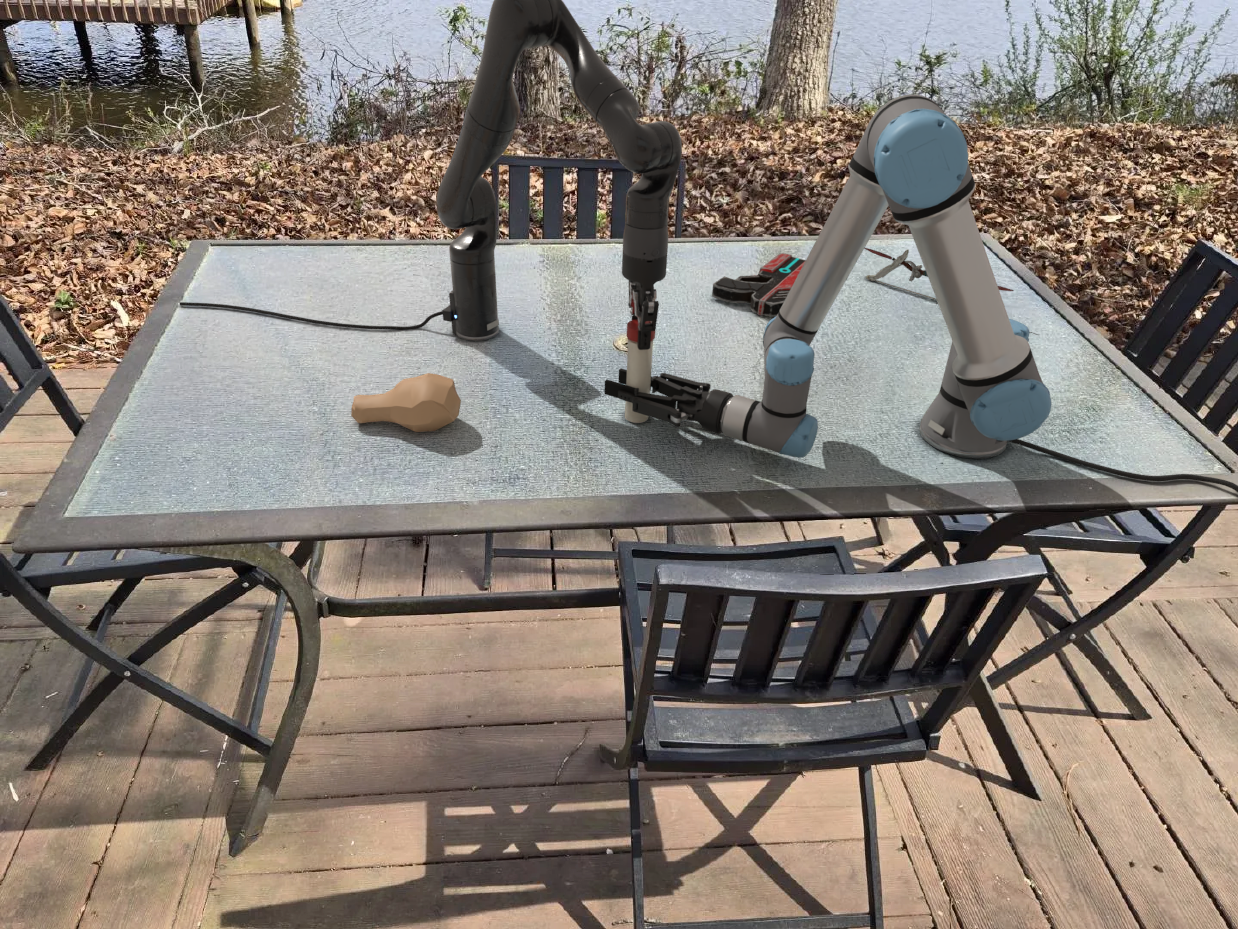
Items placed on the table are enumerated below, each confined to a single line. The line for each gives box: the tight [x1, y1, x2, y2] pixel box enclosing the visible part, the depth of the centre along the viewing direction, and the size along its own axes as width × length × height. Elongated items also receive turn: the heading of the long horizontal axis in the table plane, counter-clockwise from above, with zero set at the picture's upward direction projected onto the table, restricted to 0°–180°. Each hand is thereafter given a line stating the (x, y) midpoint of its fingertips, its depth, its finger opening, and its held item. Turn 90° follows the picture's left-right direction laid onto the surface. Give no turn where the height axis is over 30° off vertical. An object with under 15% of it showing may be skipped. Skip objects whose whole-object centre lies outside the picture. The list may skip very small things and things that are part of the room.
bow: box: [864, 247, 1015, 301], centre depth 212 cm, size 39×2×10 cm, turn 47°
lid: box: [626, 319, 656, 342], centre depth 154 cm, size 5×5×2 cm
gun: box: [711, 252, 806, 318], centre depth 215 cm, size 4×31×19 cm
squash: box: [350, 372, 462, 433], centre depth 158 cm, size 11×20×9 cm, turn 90°
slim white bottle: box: [624, 338, 654, 424], centre depth 159 cm, size 4×4×18 cm
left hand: (640, 341), depth 156 cm, fingers closed on lid, 5 cm apart
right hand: (612, 381), depth 163 cm, fingers closed on slim white bottle, 4 cm apart
